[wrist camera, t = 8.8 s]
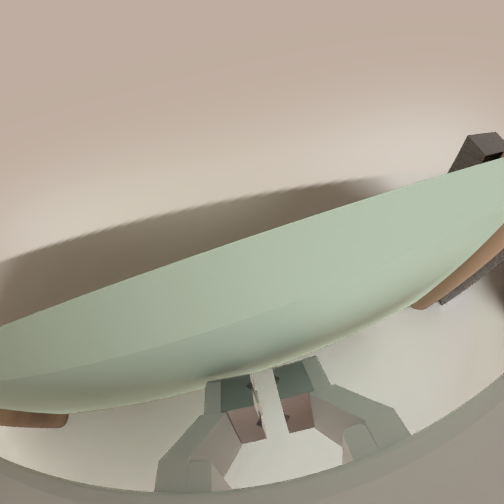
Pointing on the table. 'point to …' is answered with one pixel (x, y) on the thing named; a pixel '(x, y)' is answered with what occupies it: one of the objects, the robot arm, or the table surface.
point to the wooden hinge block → (31, 419)
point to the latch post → (470, 154)
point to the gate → (255, 298)
